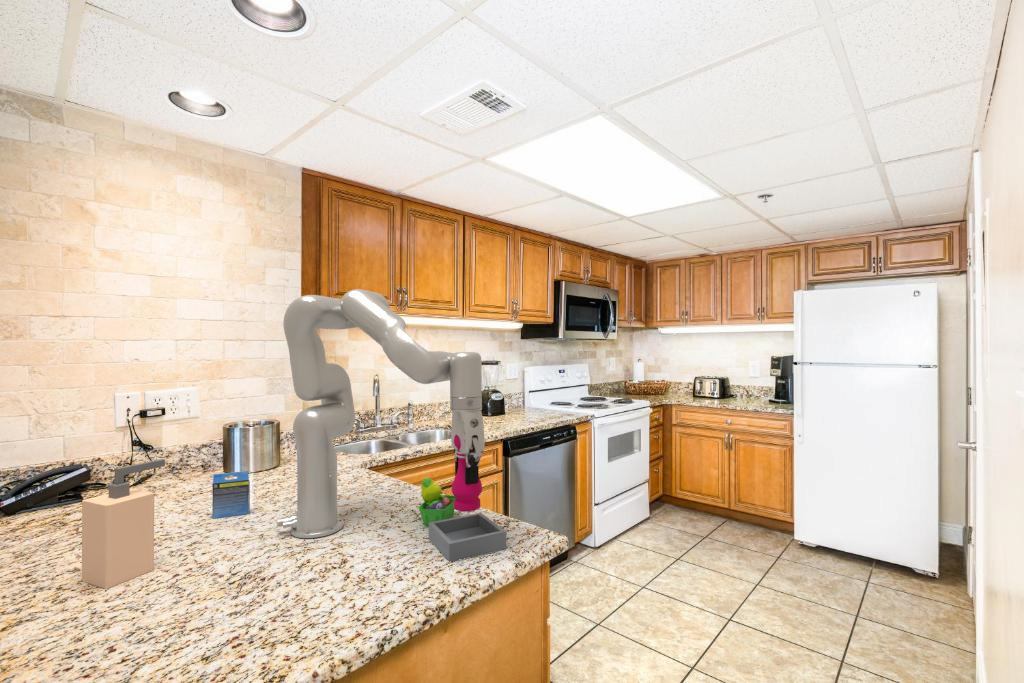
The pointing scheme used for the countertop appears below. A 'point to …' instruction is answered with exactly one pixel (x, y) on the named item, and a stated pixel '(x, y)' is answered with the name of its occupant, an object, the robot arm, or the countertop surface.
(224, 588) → the countertop surface
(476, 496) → the pepper mill
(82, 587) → the countertop surface
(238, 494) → the label tape box
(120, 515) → the soap dispenser
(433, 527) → the tray
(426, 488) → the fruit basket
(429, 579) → the countertop surface
